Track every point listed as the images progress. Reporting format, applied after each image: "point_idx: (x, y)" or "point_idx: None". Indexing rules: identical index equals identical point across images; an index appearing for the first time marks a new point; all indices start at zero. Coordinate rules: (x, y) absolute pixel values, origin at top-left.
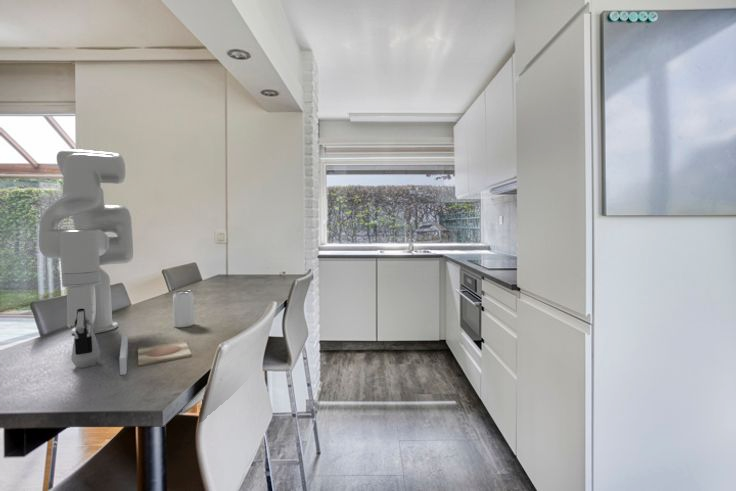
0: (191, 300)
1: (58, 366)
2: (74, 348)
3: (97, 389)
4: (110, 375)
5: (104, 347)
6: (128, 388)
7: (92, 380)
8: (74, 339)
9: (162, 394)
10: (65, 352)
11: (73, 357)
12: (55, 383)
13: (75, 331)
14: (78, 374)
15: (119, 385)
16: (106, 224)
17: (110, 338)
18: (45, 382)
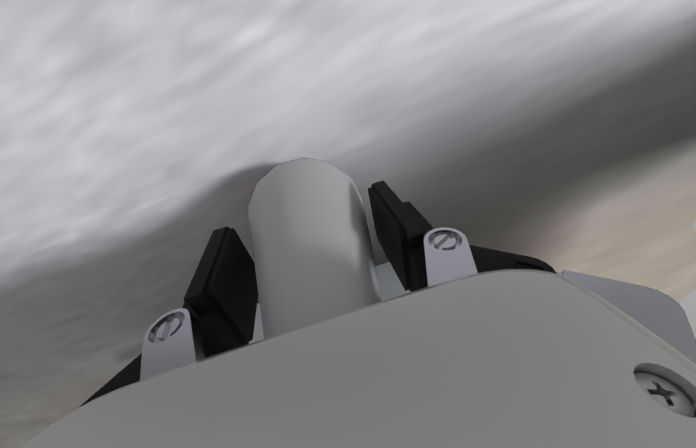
0: None
1: (324, 70)
2: (267, 212)
3: (31, 327)
4: (166, 309)
5: (508, 174)
6: (54, 383)
7: (117, 282)
8: (282, 240)
9: (26, 441)
10: (559, 4)
11: (257, 188)
12: (74, 167)
13: (140, 377)
14: (188, 212)
15: (76, 359)
16: None
17: (624, 151)
18: (83, 111)
